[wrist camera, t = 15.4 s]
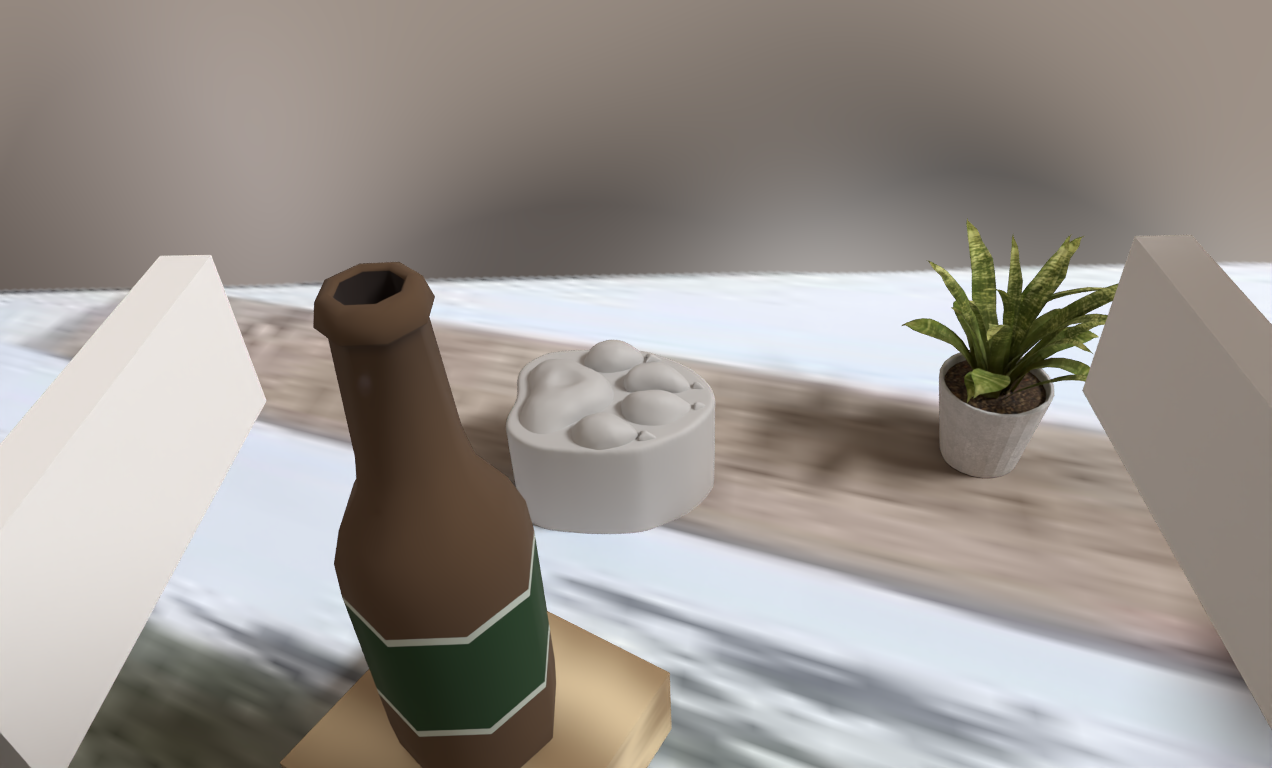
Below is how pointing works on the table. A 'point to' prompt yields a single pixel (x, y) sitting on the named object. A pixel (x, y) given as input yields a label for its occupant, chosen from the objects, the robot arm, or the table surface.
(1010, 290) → the house plant
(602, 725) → the olive wood block
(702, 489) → the lumpy-topped squat cylinder
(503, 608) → the beer bottle
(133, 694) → the table surface
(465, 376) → the table surface
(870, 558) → the table surface
